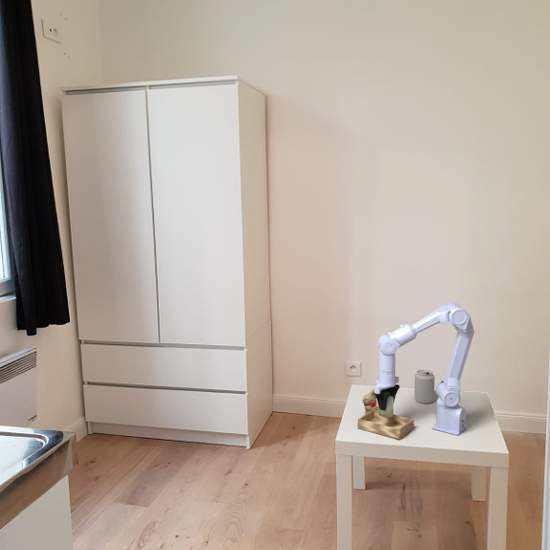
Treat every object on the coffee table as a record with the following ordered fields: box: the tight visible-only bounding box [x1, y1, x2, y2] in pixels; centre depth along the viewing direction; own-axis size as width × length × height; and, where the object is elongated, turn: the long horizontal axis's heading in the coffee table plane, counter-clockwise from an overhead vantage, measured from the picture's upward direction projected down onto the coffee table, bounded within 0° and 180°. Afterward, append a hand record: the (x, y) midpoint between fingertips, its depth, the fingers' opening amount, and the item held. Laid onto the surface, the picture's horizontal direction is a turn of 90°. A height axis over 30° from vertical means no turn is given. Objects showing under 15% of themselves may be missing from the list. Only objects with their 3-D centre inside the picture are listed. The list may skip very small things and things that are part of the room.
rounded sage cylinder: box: [379, 395, 394, 418], centre depth 205 cm, size 5×5×6 cm
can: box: [413, 369, 436, 405], centre depth 230 cm, size 8×8×12 cm
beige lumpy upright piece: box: [362, 388, 379, 415], centre depth 219 cm, size 6×8×10 cm
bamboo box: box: [357, 409, 415, 441], centre depth 205 cm, size 16×11×4 cm
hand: (386, 407), depth 205 cm, fingers closed on rounded sage cylinder, 5 cm apart
